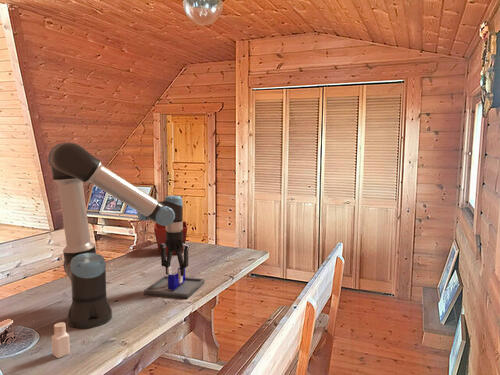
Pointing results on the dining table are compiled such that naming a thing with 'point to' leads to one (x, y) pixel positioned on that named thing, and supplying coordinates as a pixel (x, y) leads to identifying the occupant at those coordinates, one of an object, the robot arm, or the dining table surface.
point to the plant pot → (161, 235)
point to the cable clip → (174, 280)
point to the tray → (180, 292)
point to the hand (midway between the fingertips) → (175, 281)
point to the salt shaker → (60, 341)
